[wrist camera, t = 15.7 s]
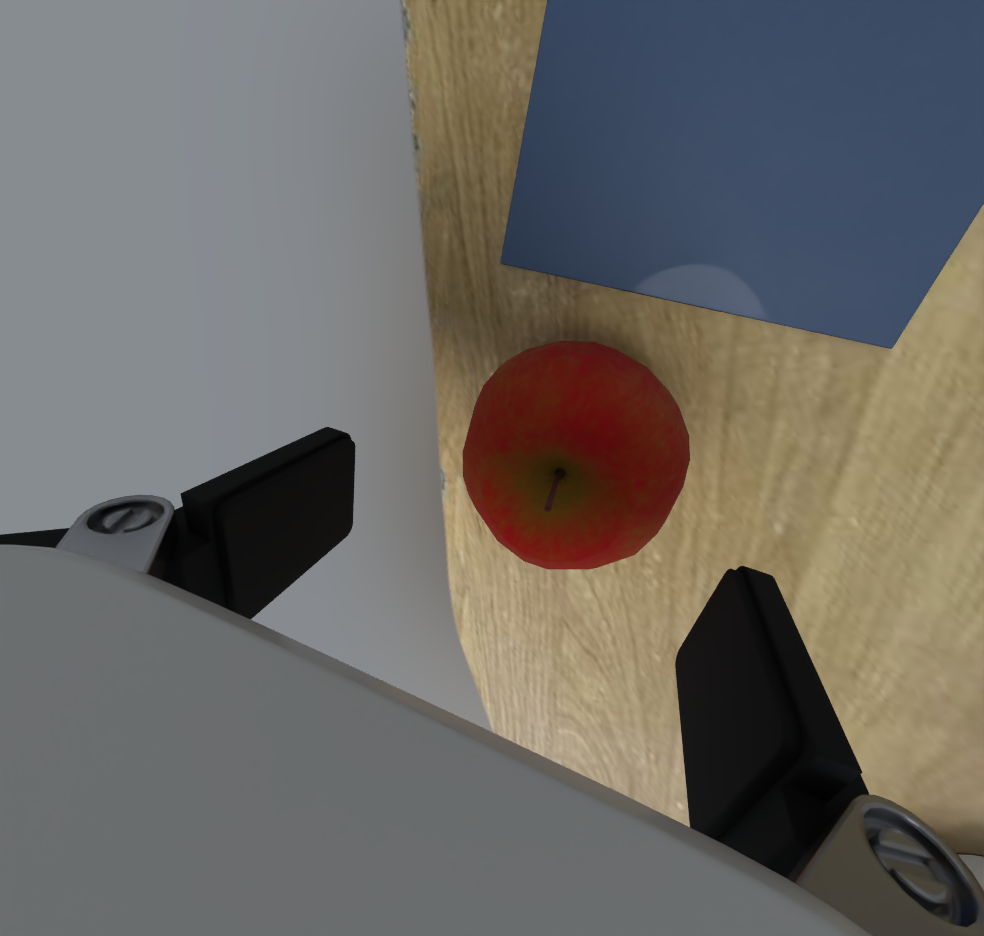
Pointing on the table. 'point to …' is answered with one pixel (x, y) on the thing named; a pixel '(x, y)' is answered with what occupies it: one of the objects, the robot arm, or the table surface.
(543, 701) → the table surface
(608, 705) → the table surface
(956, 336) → the table surface
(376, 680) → the robot arm
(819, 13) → the napkin
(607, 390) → the apple
